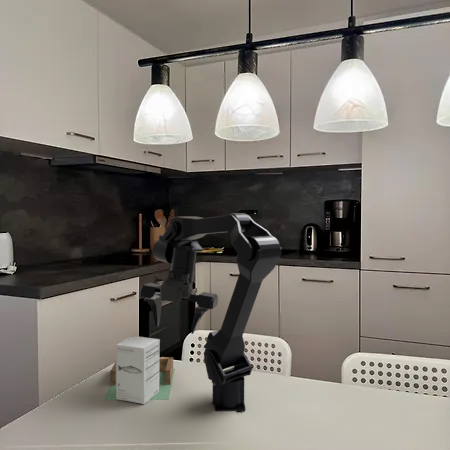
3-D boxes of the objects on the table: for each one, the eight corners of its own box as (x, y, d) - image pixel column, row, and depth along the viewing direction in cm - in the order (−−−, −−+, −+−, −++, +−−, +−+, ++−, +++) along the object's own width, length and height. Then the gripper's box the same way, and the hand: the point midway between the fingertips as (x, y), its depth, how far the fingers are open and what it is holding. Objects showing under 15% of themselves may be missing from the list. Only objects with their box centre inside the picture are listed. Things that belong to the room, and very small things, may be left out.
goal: (173, 370, 112) (173, 357, 111) (170, 384, 102) (170, 370, 102) (118, 370, 111) (118, 357, 111) (110, 385, 102) (110, 371, 102)
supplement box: (114, 400, 94) (114, 344, 93) (133, 387, 101) (132, 334, 100) (144, 405, 91) (143, 347, 91) (160, 391, 98) (160, 338, 98)
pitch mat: (174, 370, 113) (174, 368, 112) (168, 400, 95) (168, 399, 95) (119, 370, 112) (119, 369, 112) (103, 401, 94) (102, 400, 94)
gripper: (133, 264, 98) (125, 330, 98) (211, 276, 94) (202, 346, 94) (151, 260, 109) (144, 320, 109) (222, 271, 105) (214, 334, 105)
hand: (174, 330), depth 104 cm, fingers open, 9 cm apart
